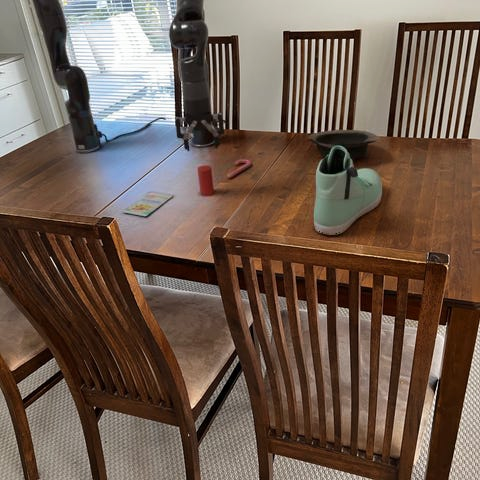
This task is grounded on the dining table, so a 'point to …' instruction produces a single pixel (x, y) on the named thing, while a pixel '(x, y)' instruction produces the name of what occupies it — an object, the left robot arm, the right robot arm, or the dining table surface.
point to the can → (205, 180)
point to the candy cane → (240, 167)
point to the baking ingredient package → (147, 204)
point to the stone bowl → (343, 141)
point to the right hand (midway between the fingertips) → (202, 149)
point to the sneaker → (343, 192)
